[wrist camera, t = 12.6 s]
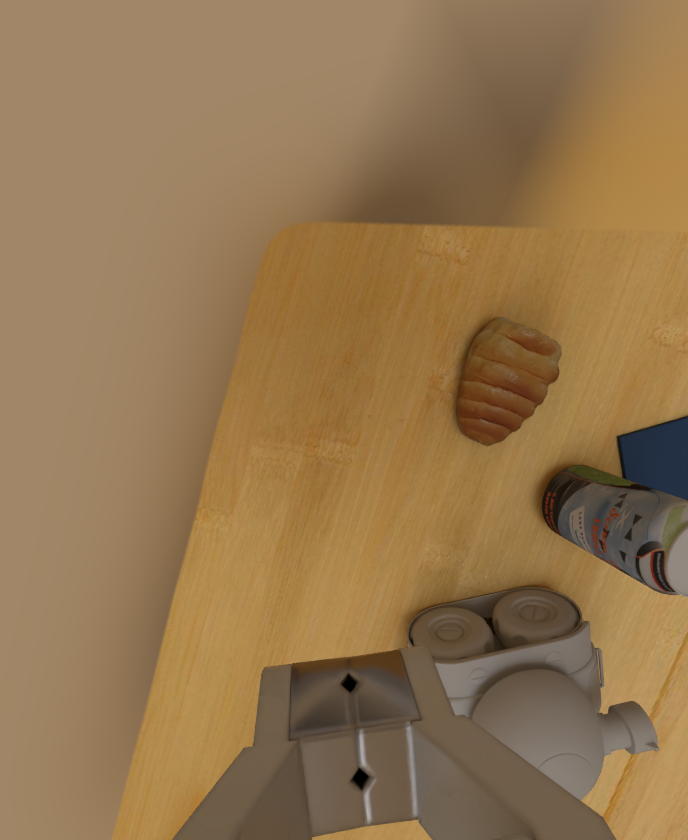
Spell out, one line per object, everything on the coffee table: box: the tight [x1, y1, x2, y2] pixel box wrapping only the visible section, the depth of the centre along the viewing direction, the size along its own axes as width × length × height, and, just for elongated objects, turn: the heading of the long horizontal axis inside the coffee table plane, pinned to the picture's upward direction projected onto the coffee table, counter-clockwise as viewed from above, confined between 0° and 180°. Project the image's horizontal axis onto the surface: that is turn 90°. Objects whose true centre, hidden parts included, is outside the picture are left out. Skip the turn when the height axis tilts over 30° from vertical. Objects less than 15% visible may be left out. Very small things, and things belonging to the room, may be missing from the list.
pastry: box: [456, 318, 562, 446], centre depth 35 cm, size 9×7×4 cm
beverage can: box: [542, 465, 688, 597], centre depth 33 cm, size 6×7×12 cm
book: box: [617, 416, 688, 500], centre depth 39 cm, size 11×9×1 cm
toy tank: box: [407, 587, 659, 800], centre depth 35 cm, size 15×11×13 cm
